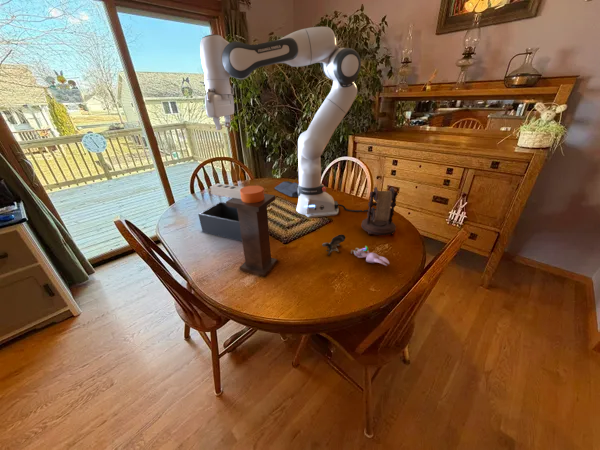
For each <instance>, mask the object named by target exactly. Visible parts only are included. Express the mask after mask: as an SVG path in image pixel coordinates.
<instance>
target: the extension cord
mask: <svg viewBox="0 0 600 450" xmlns="http://www.w3.org/2000/svg"><path fill="white" fill-rule="evenodd" d="M209 190H210V194H211V195H214V196H220V197H226V198H230V199H232V198H237V199H241V200H242V201H243V202H245V203H257V202H260V201H262V200H264V198H265V197H264V194H265V189H264V187H263V186H260V185H247V186H239V185H232V184H225V183H215V184H212V185H210V186H209Z"/></svg>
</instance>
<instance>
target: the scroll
mask: <svg viewBox="0 0 600 450" xmlns="http://www.w3.org/2000/svg"><path fill="white" fill-rule="evenodd" d="M398 195H399V193H398V192H397V191H395V188H394V187H393V186H391V187H390V189H389V190H378V187H377V186H375V187H374V188H373V191H370V192H369V202H368V203H367V205H368V209H367V210H368V211H367V212H366V215H367V216H366V218H364V219H363V220H362V221H361V225H360V226H361V228H362V229H363V230H364V231H365V232H367V233H368V236H371V235H376V236H389V235H390V236H393V235H394V234H395V232H396V231H397V225H396V223H394V221H393V218H394V217H393V216H394V215H395V213H394V212H395V208H396V207H397V198H398ZM374 201H375V202H374ZM375 209H376V210H375ZM390 209H391V210H390ZM392 233H393V234H392Z"/></svg>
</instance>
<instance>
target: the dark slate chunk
mask: <svg viewBox="0 0 600 450" xmlns="http://www.w3.org/2000/svg"><path fill="white" fill-rule="evenodd" d="M298 184H299V182H298V183H297V182H292V181H289V180H288V181H282V182H280V183H279V184H277V185H276V186H275V187H274V190H276V191H277V192H280V193H281V194H284V195H286V196H287V197H295V198H297V197H299V195H298Z"/></svg>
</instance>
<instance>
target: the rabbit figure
mask: <svg viewBox="0 0 600 450" xmlns="http://www.w3.org/2000/svg"><path fill="white" fill-rule="evenodd" d="M350 254H354V256H355V257H357V258H358V259H360V258H364V259H365V262H366V263H369V264H375V263H377V264H378V263H379V264H381V265H384V266H385V267H388V265H390V261H389V260H388V258H387V257H385V256H381V255H379V254H378V253H376V252H370V248H369V247H368V245H364V247H362V248H359V247H355V248H354V249H350Z"/></svg>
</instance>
